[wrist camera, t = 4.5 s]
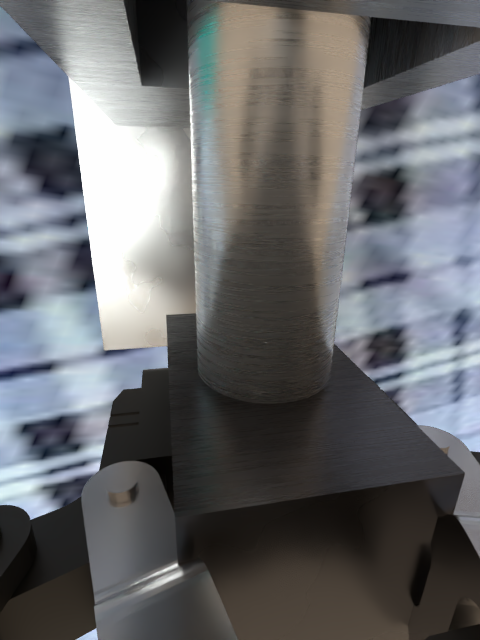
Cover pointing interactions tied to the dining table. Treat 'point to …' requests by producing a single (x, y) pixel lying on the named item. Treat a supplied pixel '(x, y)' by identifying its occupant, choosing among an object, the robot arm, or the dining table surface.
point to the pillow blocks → (175, 132)
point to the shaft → (288, 348)
